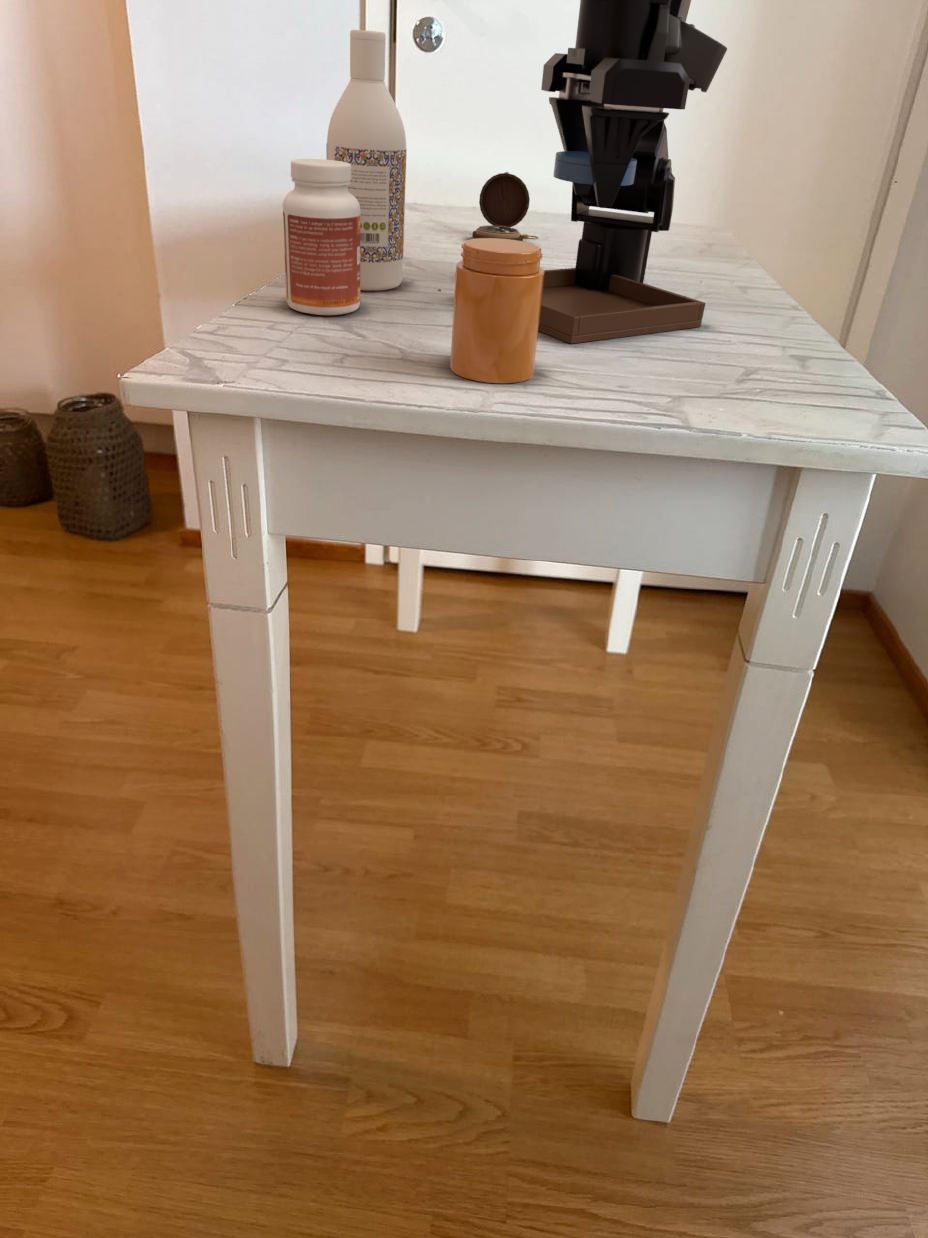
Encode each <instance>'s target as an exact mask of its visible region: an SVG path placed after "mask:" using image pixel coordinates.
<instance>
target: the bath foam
mask: <svg viewBox="0 0 928 1238" xmlns="http://www.w3.org/2000/svg"><path fill="white" fill-rule="evenodd" d="M349 32H350V33H349V67H350V68H349V76H350V79H349V82H348V84H347V85H346V87H345V89H344V90H343V92H342V94H341V96H340V98H339V99H338V101H337V103H336V105H335V107H334V109H333V112H332V114H331V117H330V120H329V124H328V129H327V136H326V144H325V145H326V160H334V161H342V162H347V163H350V164H351V178H352V179H351V181H350V182H351V184H349V185H348V192H349V193H350V194H352V195H353V196H354V197H355V198H356V199H357V200H358V202H359V205H360V291H373V292H374V291H387V290H392V289H395V288H397V287H399V286H400V285H401V284H402V282H403V274H404V273H403V270H404V268H403V267H404V246H405V245H404V244H405V243H404V242H405V241H404V240H405V212H406V211H405V209H406V182H407V181H406V180H407V177H406V176H407V150H408V149H407V137H406V131H405V125H404V122H403V119H402V115H401V114H400V112H399V110H398V109H399V108H398V107H397V105H396V103H395V101H394V99H393V97H392V95H391V92H390V91H389V89H388V87H387V85H386V82H385V79H386V78H385V77H386V39H387V38H386V37H387V35H386V33H385V32H383V31H376V30H375V31H374V30H364V29H351V30H350V31H349Z"/></svg>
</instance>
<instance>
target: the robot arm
mask: <svg viewBox="0 0 928 1238" xmlns="http://www.w3.org/2000/svg"><path fill="white" fill-rule="evenodd" d="M691 3H692V0H579V8H578V9H579V11H578V17H577V19H578V20H577V28H576V36H575V46H574V47H568V48H567V53H560V52H559V53H557V52H555V53H553V55H552V56H550V58H549V59H548V60H547V61H546V62H545V63H544V64H543V69H542V79H541V91H544V92H549V93H556V92H558V97H557V96H549V98H548V102H549V105H550V107H551V109H552V112H553V116H554V120H555V123H556V126H557V130H558V134H559V137H560V141H561V144H562V148H563V149H562V150H563V151H583V152H589V157H590V164H591V170H592V177H593V184H594V185H591V184H582V183H575V182H571V183H572V186H571V188H572V189H571V213H570V222H574V223H578V222H583V224H582V225H583V227H582V232H581V233H582V234H581V238H580V239H579V240H578V244H577V251H576V260H575V267H574V268H575V269H576V278H575V284H576V285H577V286H580V287H583V288H586V289H589V290H595V291H597V292H600V293H602V292H603V291H605V292H603V293H605V294H606V293H608V292H606V291H609V284H610V277H611V275H618V276H621V277H625V278H628V279H631V280H634V281H637V282H641V283H644V281H645V275H646V269H647V265H648V264H647V263H648V258H649V252H650V247H651V240H652V234H653V233H659V232H669V231H670V230H671V229H670V228H671V222H672V218H673V217H672V216H673V211H674V209H673V208H674V199H675V185H676V177H675V176H674V174H673V169H672V159H671V158H669V145H668V130H667V127H666V123H665V120H666V119H667V118H668V117H669V115H670V112H668V111H664V109H669V110H686V106H687V105H686V104H687V99H688V93H689V91H695V89H697V90H698V89H699V90H700V92H702V93H707V92H708V90H709V88H710V86H711V84H712V82H713V80H714V77H716V76H715V75H716V73H717V71H718V69H719V67H720V65H721V63H722V61H723V59H724V57H725V55H726V54H727V51H728V47H727V46H725V44H723V43H721V42H720V41H718V40H716V39H715V38H713V37H711V36H710V35H707V34H706V33H704V32H703V31H701V30H700V29H697V28H696V26H695V24H693V23H688V22H687V18H688V15H689V11H690V7H691ZM632 158H634V159H636V160H637V164H636V171H635V177H634V183H633V184H632V185H626V186H621V183H622V181H623V178H624V176H625V174H626V171H627V169H628V166H629V164H630V161H631V159H632ZM590 207H593V209H592V208H590ZM594 208H600V209H594ZM601 209H609V210H617V211H626V212H633V213H642V214H649V213H653V216H648V215H641V214H632V213H623V212H617V211H608V210H601ZM601 291H602V292H601ZM609 293H610V292H609ZM611 293H613V292H611ZM608 295H609V294H608ZM611 295H612V294H611Z"/></svg>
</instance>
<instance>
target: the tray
mask: <svg viewBox="0 0 928 1238" xmlns="http://www.w3.org/2000/svg"><path fill="white" fill-rule="evenodd" d="M544 271H545V276H544V285H543V294H542V303H541V312H540V321H539V330H538V332H541V333H542V334H543V333H544V334H545V335H547V336H550V337H553V338H555V339H558V340H561V341H562V342H565V343H568V344H571V345H573V344H580V343H587V342H596V341H603V340H611V339H618V338H627V337H632V336H633V337H635V336H642V335H649V334H657V333H663V332H672V331H679V330H688V329H695V328H701V327H702V322H703V318H704V313H705V307H706V302H704V301H702V300H698V299H695V298H692V297H688V296H686V295H682V294H679V293H675V292H673V291H670V290H666V289H663V288H660V287H656V286H653V285H650V284H647V283H644V282H643V283H641V282H637V281H634V280H631V279H628V278H625V277H621V276H618V275H611V277H610V284H609V291H606V292H608V293H606V294H605V293H603V292H605V291H603V292H602V291H601V292H602V293H600V292H597V291H595V290H589V289H586V288H583V287H580V286H577V285H576V284H575V278H576V269H575V267H570V268H569V267H568V268H555V269H544ZM609 292H610V293H609ZM611 292H613V293H611ZM608 294H609V295H608ZM611 294H612V295H611Z"/></svg>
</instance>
